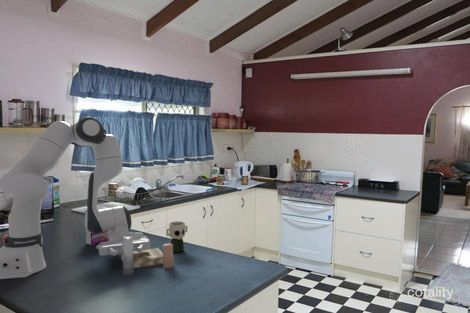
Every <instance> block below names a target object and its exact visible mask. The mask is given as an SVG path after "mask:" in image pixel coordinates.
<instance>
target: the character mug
mask: <svg viewBox="0 0 470 313" xmlns="http://www.w3.org/2000/svg"><path fill="white" fill-rule="evenodd" d="M168 227H169V228H167V229H166V232H165V233H166V236H167V237H169V238H171V240H170V244H173V253H180V252H183V251H185V246H184V239H183V238H184V237H185V236H186V233H188V225H186V223H185V222H184V221H177V220H176V221H171V222H169V224H168Z"/></svg>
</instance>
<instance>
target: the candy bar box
mask: <svg viewBox="0 0 470 313" xmlns="http://www.w3.org/2000/svg"><path fill="white" fill-rule="evenodd" d="M106 208H108V207H106V206H103V207H97V209H106ZM86 214H87V210H84V219H85V218H86ZM84 227H85V244H86V245H89V246H95V245H99V244H100V243H101V242H106V241H109V240H108V231H104V232H101V233H97V234H93V233H91V232H89V231H88V230H87V229H86V226H84Z"/></svg>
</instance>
